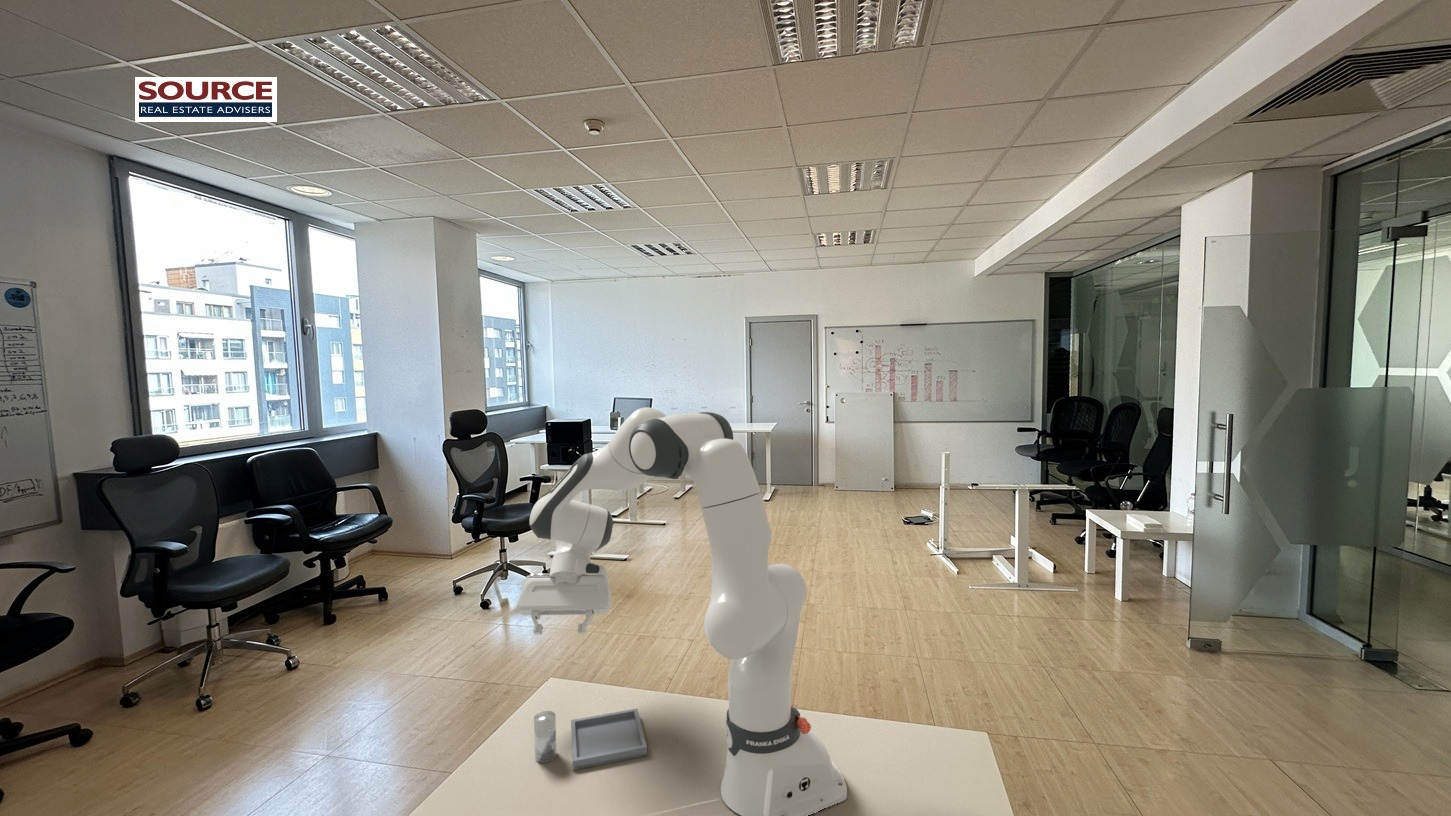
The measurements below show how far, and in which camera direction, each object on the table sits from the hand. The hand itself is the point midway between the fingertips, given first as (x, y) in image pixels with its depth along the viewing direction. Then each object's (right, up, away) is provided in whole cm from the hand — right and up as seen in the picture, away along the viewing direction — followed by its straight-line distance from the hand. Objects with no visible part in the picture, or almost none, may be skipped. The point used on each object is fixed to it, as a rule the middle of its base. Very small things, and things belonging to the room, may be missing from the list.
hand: (559, 633), depth 124 cm
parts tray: (+12, -19, -7) cm, 24 cm away
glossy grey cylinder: (+1, -20, -12) cm, 23 cm away
